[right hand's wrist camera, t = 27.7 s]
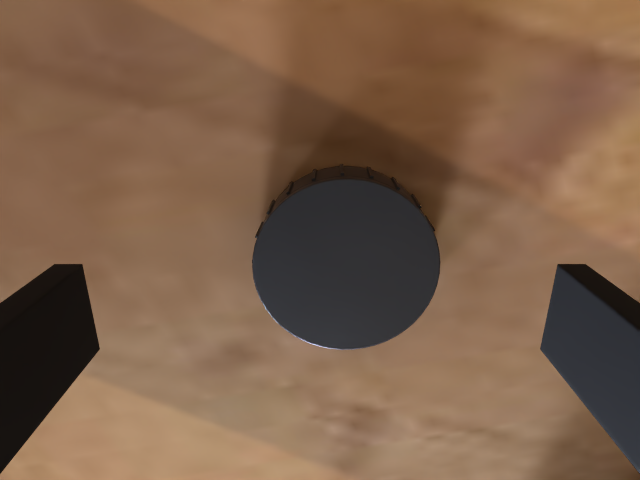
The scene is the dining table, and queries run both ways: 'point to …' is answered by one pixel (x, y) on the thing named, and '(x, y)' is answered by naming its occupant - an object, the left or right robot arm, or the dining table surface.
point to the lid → (345, 258)
